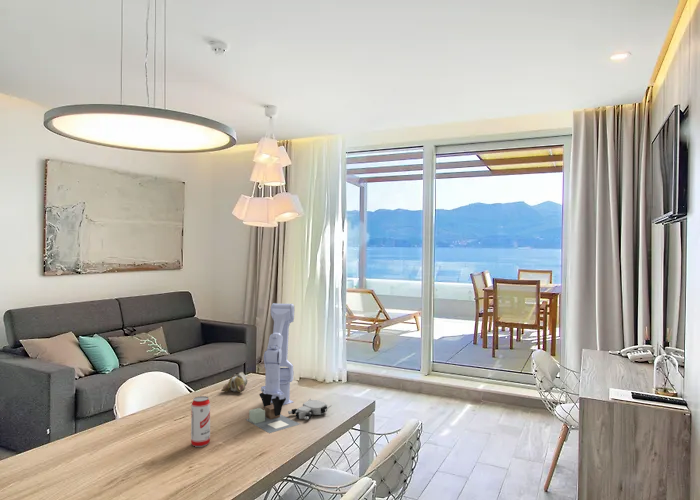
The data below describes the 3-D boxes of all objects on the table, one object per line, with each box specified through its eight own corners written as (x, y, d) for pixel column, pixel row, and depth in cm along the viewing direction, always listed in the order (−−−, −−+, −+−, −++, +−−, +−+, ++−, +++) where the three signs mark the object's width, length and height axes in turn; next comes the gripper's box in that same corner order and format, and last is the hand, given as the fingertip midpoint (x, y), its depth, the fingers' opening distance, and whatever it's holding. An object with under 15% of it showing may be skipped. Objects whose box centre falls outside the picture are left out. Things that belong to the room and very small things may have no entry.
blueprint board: (245, 420, 186) (245, 419, 186) (275, 412, 195) (275, 411, 195) (269, 434, 173) (269, 432, 173) (300, 425, 182) (300, 423, 182)
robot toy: (307, 426, 183) (333, 413, 195) (307, 415, 183) (332, 402, 194) (286, 419, 191) (311, 407, 202) (285, 408, 190) (311, 396, 202)
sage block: (249, 420, 185) (249, 410, 185) (259, 417, 188) (259, 407, 188) (255, 423, 182) (255, 413, 182) (265, 420, 185) (265, 410, 185)
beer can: (213, 442, 165) (214, 396, 165) (202, 449, 159) (202, 402, 159) (198, 439, 167) (199, 394, 167) (187, 446, 161) (187, 400, 161)
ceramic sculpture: (252, 368, 232) (241, 378, 217) (252, 386, 232) (241, 397, 218) (231, 368, 233) (219, 378, 219) (232, 385, 234) (220, 396, 219)
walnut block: (264, 416, 190) (264, 406, 190) (274, 413, 193) (274, 404, 193) (270, 419, 186) (270, 409, 186) (280, 416, 189) (280, 406, 189)
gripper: (254, 377, 192) (254, 410, 192) (273, 385, 182) (273, 420, 181) (269, 374, 197) (269, 406, 197) (289, 381, 186) (288, 415, 186)
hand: (272, 412), depth 190 cm, fingers open, 7 cm apart
